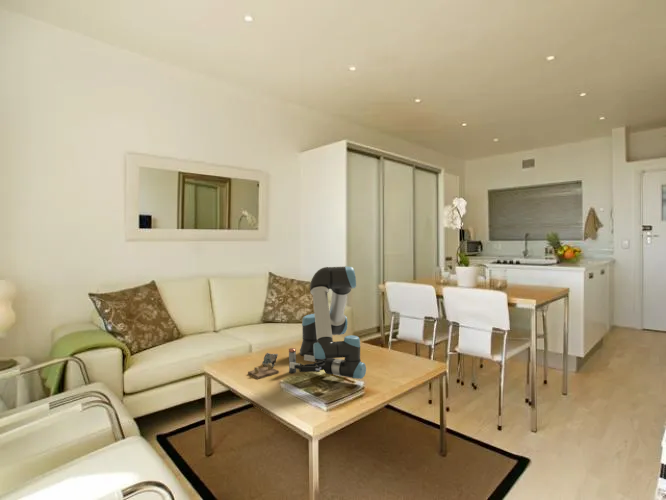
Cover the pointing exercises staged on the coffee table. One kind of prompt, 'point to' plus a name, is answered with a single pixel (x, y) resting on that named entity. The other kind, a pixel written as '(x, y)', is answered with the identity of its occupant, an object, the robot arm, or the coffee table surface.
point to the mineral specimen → (269, 359)
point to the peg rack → (263, 371)
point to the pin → (292, 359)
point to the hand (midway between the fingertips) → (297, 361)
